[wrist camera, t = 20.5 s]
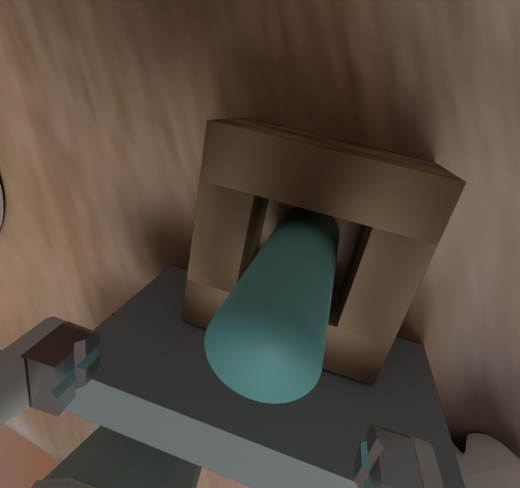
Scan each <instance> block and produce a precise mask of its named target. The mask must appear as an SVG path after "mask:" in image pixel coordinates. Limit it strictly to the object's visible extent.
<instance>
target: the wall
mask: <svg viewBox="0 0 520 488" xmlns="http://www.w3.org/2000/svg"><path fill="white" fill-rule="evenodd" d="M187 274H188V270H185V269H182V268H179V267H176V266H173V265H171V266H169V267H168V268H167V269H166V270H165V271H163V272H162V273H161V274H160V275H159V276H158V277H156V278H155V279H154V280H153V281H152V282H150V283H149V284H148V285H147V286H146V287H144V288H143V289H142V290H141V291H140V292H138V293H137V294H136V295H135V296H134V297H132V298H131V299H130V300H129V301H128V302H127V303H125V304H124V305H123V306H122V307H121V308H119V309H118V310H117V311H116V312H115V313H113V314H112V315H111V316H110V317H109V318H107V319H106V320H105V321H104V322H103V323H101V324H100V325H99V326H98V327H97V328H96V329H94V330H93V331H95V332H97V333H99V334H100V343H99V344H98V346H97V347H96V348H97V350H98V351H99V353H100V362H99V366H98V369H97V371H96V373H95V374H94V376H93V378H92V379H91V380H90V381H89V382H88V384H87V385H86V386H83V387H81V388H78V389H76V393H75V398H74V399H73V400H72V401H71V403H70V404H69V405H68V406H67V407H66V408H65V409H64V410H65V411H67V412H70V413H72V414H74V415H77V416H79V417H82V418H84V419H87V420H89V421H91V422H94V423H96V424H99V425H101V426H104V427H106V428H108V429H111V430H113V431H116V432H118V433H121V434H123V435H125V436H128V437H130V438H133V439H135V440H138V441H140V442H142V443H145V444H147V445H150V446H152V447H155V448H157V449H159V450H162V451H164V452H167V453H169V454H172V455H174V456H176V457H179V458H181V459H184V460H186V461H189V462H191V463H193V464H196V465H198V466H201V467H203V468H205V469H208V470H210V471H213V472H215V473H218V474H220V475H222V476H225V477H227V478H230V479H232V480H235V481H237V482H239V483H242V484H244V485H247V486H249V487H252V488H358V486H357V485H356V483H355V481H354V465H355V459H356V454H357V451H358V449H359V446H360V444H361V443H363V442H365V441H367V435H366V432H367V430H368V428H369V427H370V426H371V425H372V424H375V425H378V426H381V427H384V428H387V429H390V430H393V431H396V432H400V433H403V434H406V435H408V436H412V437H415V438H418V439H421V440H424V441H427V442H430V444H431V445H432V446H433V449H434V453H435V457H436V460H437V464H438V468H439V471H440V475H441V479H442V482H443V486H444V488H465V485H464V481H463V478H462V475H461V471H460V468H459V464H458V461H457V457H456V454H455V451H454V447H453V444H452V440H451V437H450V433H449V430H448V427H447V423H446V420H445V416H444V413H443V410H442V406H441V403H440V399H439V396H438V392H437V389H436V386H435V382H434V379H433V375H432V372H431V368H430V365H429V362H428V358H427V355H426V351H425V348H424V345H422V344H419V343H415V342H412V341H409V340H406V339H403V338H400V337H396V338H395V340H394V342H393V344H392V346H391V349H390V351H389V353H388V355H387V357H386V360H385V362H384V364H383V366H382V368H381V371H380V373H379V375H378V377H377V379H376V382H375V384H374V386H373V385H370V384H367V383H364V382H361V381H358V380H355V379H352V378H349V377H347V376H344V375H341V374H338V373H335V372H332V371H329V370H326V369H323V368H322V372H321V375H320V378H319V380H318V382H317V384H316V385H315V387H314V388H313V389H312V390H311V391H310V392H309V393H307V394H306V395H305V396H303V397H301V398H299V399H297V400H294V401H291V402H287V403H279V404H271V403H263V402H258V401H255V400H252V399H249V398H246V397H244V396H242V395H240V394H238V393H236V392H235V391H233V390H232V389H230V388H229V387H228V386H227V385H226V384H224V383H223V382H222V381H221V380H220V379H219V377H218V376H217V375H216V374H215V372H214V371H213V369H212V368H211V366H210V364H209V362H208V359H207V356H206V352H205V345H204V340H205V334H206V330H207V328H204V327H201V326H198V325H195V324H192V323H189V322H186V321H183V320H182V313H183V305H184V297H185V289H186V282H187Z"/></svg>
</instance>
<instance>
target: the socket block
mask: <svg viewBox="0 0 520 488" xmlns="http://www.w3.org/2000/svg"><path fill="white" fill-rule="evenodd" d="M465 184H466V182H465V181H463V180H462V179H460V178H459V177H457V176H456V175H454V174H453V173H451V172H449V171H448V170H446V169H445V168H443V167H442V166H440V165H439V164H437V163H434V162H430V161H426V160H422V159H417V158H413V157H409V156H404V155H400V154H396V153H392V152H387V151H383V150H379V149H375V148H370V147H366V146H362V145H358V144H353V143H349V142H345V141H341V140H336V139H332V138H328V137H324V136H319V135H315V134H311V133H307V132H302V131H298V130H294V129H290V128H285V127H281V126H277V125H273V124H268V123H264V122H260V121H256V120H251V119H247V118H232V119H217V120H207V127H206V134H205V142H204V150H203V158H202V165H201V173H200V181H199V189H198V196H197V204H196V212H195V220H194V227H193V235H192V243H191V251H190V258H189V266H188V274H187V282H186V289H185V297H184V305H183V313H182V320H183V321H186V322H189V323H192V324H195V325H198V326H201V327H204V328H208V325H209V323H210V322H211V320H212V319H213V317H214V316H215V315H216V313H217V312H218V310H219V309H220V307H221V306H222V304H223V303H224V301H225V300H226V299H227V297H228V296H229V294H230V293H231V291H232V290H233V288H234V287H235V286H236V284H237V283H238V281H239V280H240V278H241V277H242V275H243V274H244V273H245V271H246V270H247V268H248V267H249V265H250V264H251V262H252V261H253V260H254V258H255V257H256V255H257V254H258V252H259V251H260V249H261V248H262V246H263V245H264V244H265V242H266V241H267V239H268V238H269V236H270V235H271V233H272V232H273V231H274V229H275V228H276V226H277V225H278V223H279V222H280V220H281V219H282V218H283V216H284V215H285V214H286V213H287V212H288V211H290V210H292V209H294V208H296V207H300V208H304V209H307V210H311V211H315V212H318V213H322V214H326V215H329V216H332V217H333V219H334V220H335V222H336V224H337V226H338V229H339V245H338V252H337V260H336V267H335V275H334V282H333V290H332V298H331V305H330V313H329V320H328V328H327V335H326V343H325V350H324V358H323V366H322V368H323V369H326V370H329V371H332V372H335V373H338V374H341V375H344V376H347V377H349V378H352V379H355V380H358V381H361V382H364V383H367V384H370V385H373V386H374V384H375V382H376V379H377V377H378V375H379V373H380V371H381V368H382V366H383V364H384V362H385V360H386V357H387V355H388V353H389V351H390V349H391V346H392V344H393V342H394V340H395V338H396V335H397V333H398V331H399V329H400V327H401V324H402V322H403V320H404V318H405V316H406V313H407V311H408V309H409V307H410V305H411V302H412V300H413V298H414V296H415V294H416V291H417V289H418V287H419V285H420V283H421V280H422V278H423V276H424V274H425V272H426V269H427V267H428V265H429V263H430V261H431V258H432V256H433V254H434V252H435V250H436V247H437V245H438V243H439V241H440V239H441V236H442V234H443V232H444V230H445V228H446V225H447V223H448V221H449V219H450V217H451V215H452V212H453V210H454V208H455V206H456V204H457V201H458V199H459V197H460V195H461V193H462V190H463V188H464V186H465Z"/></svg>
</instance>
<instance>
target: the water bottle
mask: <svg viewBox="0 0 520 488" xmlns="http://www.w3.org/2000/svg"><path fill="white" fill-rule="evenodd" d="M452 444H453V447H454V451H455V454H456V457H457V461H458V464H459V468H460V471H461V475H462V478H463V481H464V485H465V488H520V458H519V457H518V456H516V455H515V454H513V453H512V452H511V451H510V450H509V449H508V448H507V447H506V446H504V445H503V444H502V443H500V442H499V441H498V440H495V439H494V438H492V437H491V436H489V435H485V434H480V433H472V434H468V437H467V441H466V450H465V452H464V453H462V452H461V451H460V450H459V449H458V448H457V447H456V445H455V444H454V443H452Z"/></svg>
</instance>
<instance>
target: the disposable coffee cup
mask: <svg viewBox="0 0 520 488" xmlns="http://www.w3.org/2000/svg"><path fill="white" fill-rule="evenodd" d="M201 468H202V467H201V466H198V465H196V464H193V463H191V462H189V461H186V460H184V459H181V458H179V457H176V456H174V455H172V454H169V453H167V452H164V451H162V450H159V449H157V448H155V447H152V446H150V445H147V444H145V443H142V442H140V441H138V440H135V439H133V438H130V437H128V436H125V435H123V434H121V433H118V432H116V431H113V430H111V429H108V428H106V427H104V426H100V427H99V428H98V429H97V430H95V431H94V432H93V433H92V434H91V435H90V436H89V437H88V438H87V439H86V440H85V441H84V442H83V443H82V444H80V445H79V446H78V447H77V448H76V449H75V450H74V451H73V452H72V453H71V454H70V455H69V456H68V457H66V458H65V459H64V460H63V461H62V462H61V463H60V464H59V465H58V466H57V467H56V468H55V469H54V470H53V471H51V472H50V473H49V474H48V475H47V476H46V477H45V478H44V479H43V480H37V481H36V482H35V483H34V485H33V486H32V487H31V488H196V487H197V483H198V479H199V476H200V472H201Z"/></svg>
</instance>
